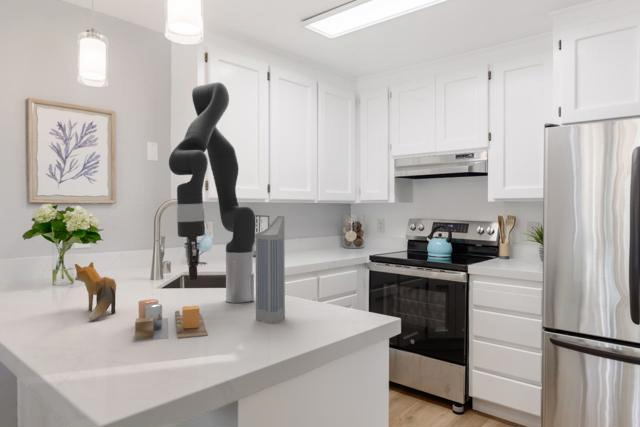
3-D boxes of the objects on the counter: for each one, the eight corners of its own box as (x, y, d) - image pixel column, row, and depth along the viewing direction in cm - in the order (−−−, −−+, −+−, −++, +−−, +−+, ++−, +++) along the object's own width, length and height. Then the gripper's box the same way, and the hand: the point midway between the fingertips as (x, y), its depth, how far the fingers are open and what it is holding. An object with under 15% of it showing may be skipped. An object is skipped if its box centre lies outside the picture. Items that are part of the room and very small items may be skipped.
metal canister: (162, 325, 115) (162, 303, 115) (162, 329, 112) (162, 306, 112) (146, 327, 114) (145, 304, 114) (145, 331, 110) (145, 307, 110)
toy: (99, 304, 147) (99, 260, 147) (130, 320, 126) (129, 268, 126) (63, 309, 140) (62, 263, 140) (89, 327, 119) (89, 272, 119)
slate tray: (168, 322, 124) (167, 317, 124) (168, 343, 104) (168, 338, 104) (137, 324, 121) (137, 320, 121) (132, 346, 101) (132, 341, 101)
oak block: (153, 333, 109) (153, 317, 109) (153, 337, 105) (153, 320, 105) (136, 334, 107) (136, 318, 107) (135, 339, 103) (135, 322, 103)
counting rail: (174, 320, 125) (174, 309, 125) (200, 318, 128) (200, 307, 128) (177, 343, 104) (177, 329, 104) (207, 340, 106) (207, 327, 106)
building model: (289, 317, 128) (289, 216, 128) (275, 324, 121) (274, 216, 121) (265, 315, 132) (265, 216, 132) (250, 321, 124) (249, 216, 124)
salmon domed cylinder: (158, 320, 121) (158, 298, 121) (158, 324, 116) (158, 302, 116) (139, 321, 119) (139, 300, 119) (138, 326, 115) (138, 303, 115)
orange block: (182, 324, 114) (182, 306, 114) (198, 323, 115) (198, 305, 115) (183, 328, 110) (183, 309, 110) (199, 327, 112) (199, 308, 112)
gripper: (207, 220, 121) (209, 282, 121) (201, 218, 133) (203, 274, 133) (179, 221, 118) (181, 284, 118) (175, 219, 130) (178, 277, 131)
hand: (193, 279), depth 126 cm, fingers closed
